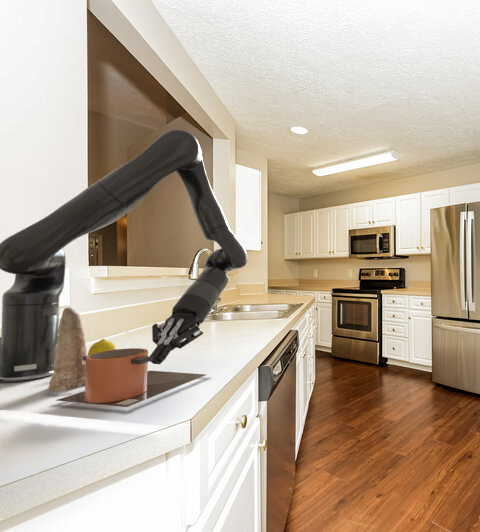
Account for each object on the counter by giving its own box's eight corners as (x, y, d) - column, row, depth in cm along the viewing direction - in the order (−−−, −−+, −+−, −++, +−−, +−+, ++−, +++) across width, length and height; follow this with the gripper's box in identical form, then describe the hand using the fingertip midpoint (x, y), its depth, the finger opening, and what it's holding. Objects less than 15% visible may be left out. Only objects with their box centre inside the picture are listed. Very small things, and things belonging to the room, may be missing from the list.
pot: (62, 400, 63) (64, 357, 63) (113, 384, 73) (114, 346, 73) (122, 405, 61) (123, 360, 61) (166, 388, 70) (167, 349, 71)
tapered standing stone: (41, 399, 69) (72, 399, 69) (33, 312, 66) (65, 313, 67) (69, 384, 75) (98, 384, 75) (63, 304, 72) (93, 305, 73)
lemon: (99, 375, 82) (100, 341, 82) (81, 373, 83) (82, 340, 84) (122, 368, 88) (122, 337, 88) (104, 367, 89) (105, 336, 89)
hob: (53, 405, 63) (54, 399, 64) (149, 374, 83) (150, 369, 83) (126, 412, 61) (126, 406, 61) (207, 378, 80) (208, 374, 80)
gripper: (166, 291, 86) (117, 351, 74) (213, 293, 84) (170, 354, 72) (183, 310, 91) (139, 369, 79) (227, 312, 89) (189, 372, 77)
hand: (154, 362), depth 75 cm, fingers closed
